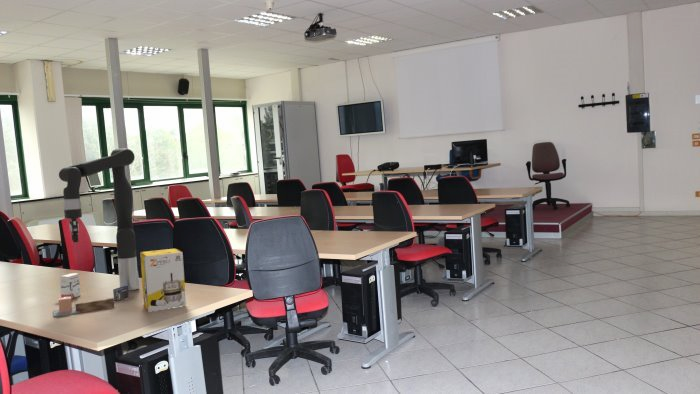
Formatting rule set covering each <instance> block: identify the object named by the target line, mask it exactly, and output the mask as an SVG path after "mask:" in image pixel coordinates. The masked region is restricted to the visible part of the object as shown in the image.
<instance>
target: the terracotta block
mask: <svg viewBox="0 0 700 394" xmlns="http://www.w3.org/2000/svg"><path fill="white" fill-rule="evenodd" d="M58 308H59V309H58V310H59V311H60V313H66V312H72V308H73V304H72V299H71V296H70V297H63V298H61V297H58Z"/></svg>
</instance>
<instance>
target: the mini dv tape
mask: <svg viewBox="0 0 700 394" xmlns="http://www.w3.org/2000/svg"><path fill="white" fill-rule="evenodd" d="M112 292H113V298H114V302H120V301H123V300H126V299H128V298H129V291H128V286H123V287H120V286H119V287H116V288H114V289H113V290H112Z"/></svg>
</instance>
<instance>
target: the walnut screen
mask: <svg viewBox="0 0 700 394" xmlns="http://www.w3.org/2000/svg"><path fill="white" fill-rule="evenodd" d="M75 307H76V312H77V311H79V313H84V312H90V311H98V310H103V309H105V310H106V309H110V308H115V301H114V297H110V298H104V299H96V300H95V299H94V300H88V301H83V302H76V303H75Z"/></svg>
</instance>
